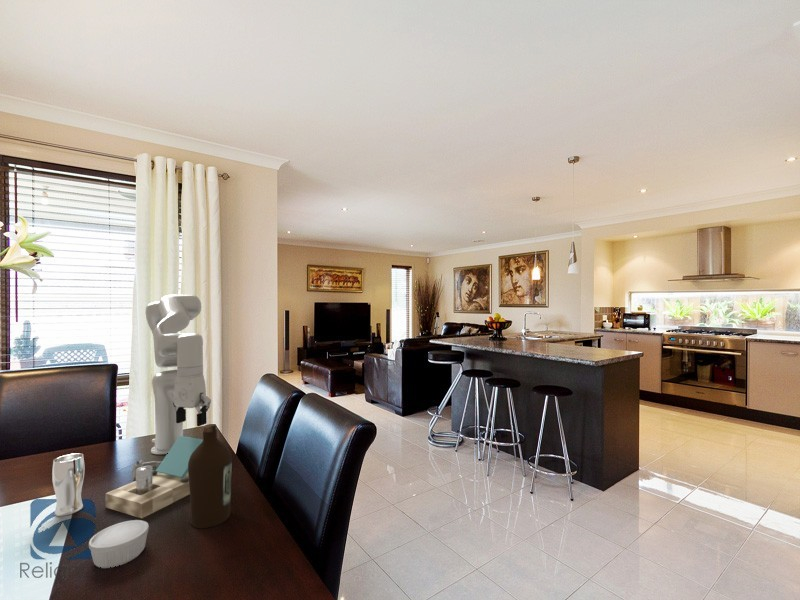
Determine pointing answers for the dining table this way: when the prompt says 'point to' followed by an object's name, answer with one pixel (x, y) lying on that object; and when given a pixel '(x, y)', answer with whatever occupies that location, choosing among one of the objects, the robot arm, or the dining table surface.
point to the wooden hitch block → (148, 495)
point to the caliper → (140, 464)
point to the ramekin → (118, 543)
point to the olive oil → (210, 480)
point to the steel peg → (144, 480)
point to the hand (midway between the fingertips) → (191, 423)
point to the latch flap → (179, 456)
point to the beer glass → (68, 483)
